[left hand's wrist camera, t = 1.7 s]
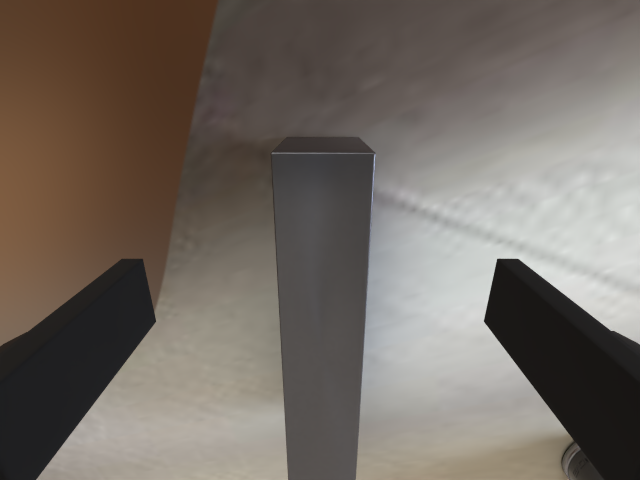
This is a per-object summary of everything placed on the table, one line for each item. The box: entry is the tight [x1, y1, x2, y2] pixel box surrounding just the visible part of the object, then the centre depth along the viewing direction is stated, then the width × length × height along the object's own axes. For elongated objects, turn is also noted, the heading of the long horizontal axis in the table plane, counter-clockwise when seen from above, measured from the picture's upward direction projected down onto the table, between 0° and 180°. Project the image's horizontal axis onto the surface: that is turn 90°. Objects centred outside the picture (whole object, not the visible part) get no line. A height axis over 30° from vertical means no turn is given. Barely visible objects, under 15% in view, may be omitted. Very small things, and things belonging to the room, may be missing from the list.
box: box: [271, 137, 375, 480], centre depth 27 cm, size 27×6×9 cm, turn 0°
